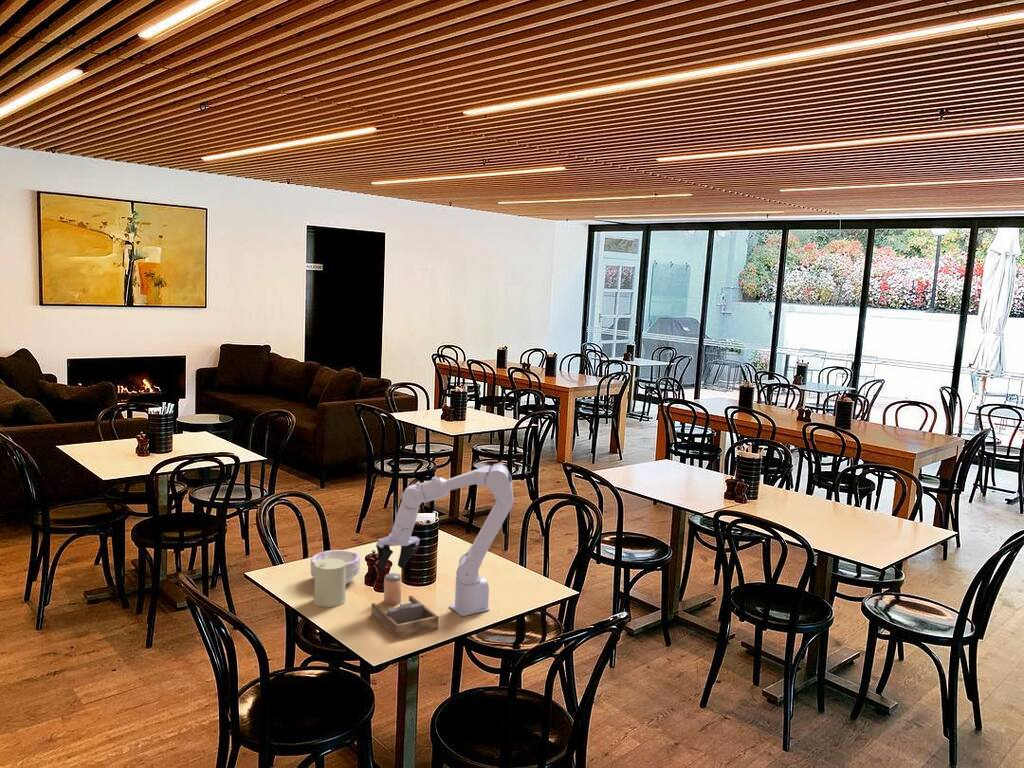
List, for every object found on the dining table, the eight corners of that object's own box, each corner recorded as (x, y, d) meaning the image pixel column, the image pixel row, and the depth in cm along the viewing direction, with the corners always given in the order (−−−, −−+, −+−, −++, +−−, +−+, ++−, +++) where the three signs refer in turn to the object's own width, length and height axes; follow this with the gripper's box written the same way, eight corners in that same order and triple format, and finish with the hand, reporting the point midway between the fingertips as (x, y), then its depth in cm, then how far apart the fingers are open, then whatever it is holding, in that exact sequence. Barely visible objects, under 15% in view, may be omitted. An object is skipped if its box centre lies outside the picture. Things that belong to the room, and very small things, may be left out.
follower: (419, 615, 230) (420, 598, 229) (423, 618, 228) (423, 600, 227) (386, 622, 224) (387, 605, 223) (390, 625, 222) (390, 607, 222)
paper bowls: (311, 573, 260) (311, 549, 259) (359, 571, 263) (360, 548, 262) (309, 591, 245) (309, 566, 244) (359, 589, 248) (360, 564, 247)
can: (307, 600, 239) (308, 561, 237) (334, 592, 245) (335, 554, 244) (324, 609, 232) (325, 569, 231) (351, 601, 239) (352, 562, 237)
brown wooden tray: (411, 606, 237) (411, 595, 237) (438, 628, 223) (438, 616, 223) (371, 615, 230) (371, 603, 230) (396, 638, 216) (396, 625, 216)
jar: (396, 597, 244) (397, 571, 243) (403, 603, 240) (404, 577, 238) (381, 600, 241) (381, 574, 240) (388, 606, 237) (388, 580, 236)
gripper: (413, 518, 242) (401, 560, 244) (376, 519, 231) (363, 563, 233) (428, 528, 238) (415, 570, 240) (391, 530, 227) (377, 574, 229)
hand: (390, 567), depth 236 cm, fingers open, 7 cm apart
